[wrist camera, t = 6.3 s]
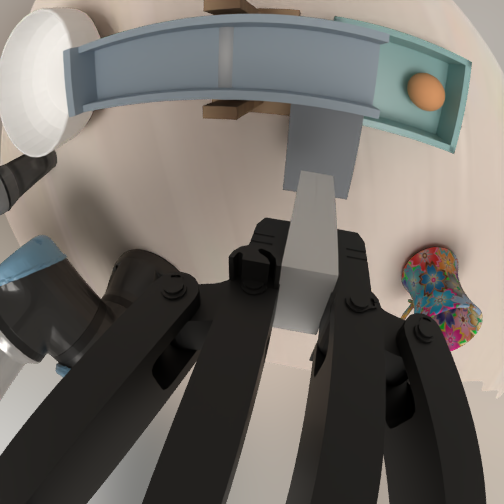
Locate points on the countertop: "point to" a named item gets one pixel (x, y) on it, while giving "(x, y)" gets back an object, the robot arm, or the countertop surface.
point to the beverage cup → (22, 177)
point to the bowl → (41, 79)
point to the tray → (396, 95)
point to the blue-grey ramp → (245, 77)
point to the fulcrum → (222, 3)
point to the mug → (441, 295)
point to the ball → (426, 91)
